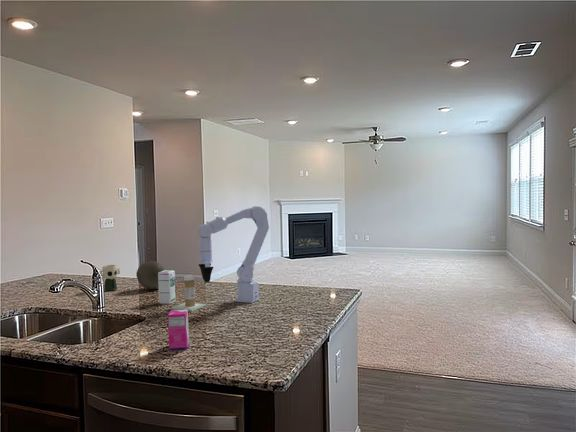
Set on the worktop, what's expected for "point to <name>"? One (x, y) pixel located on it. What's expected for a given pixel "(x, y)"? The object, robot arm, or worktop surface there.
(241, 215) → the robot arm
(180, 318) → the supplement box
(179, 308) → the green white square tile
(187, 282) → the sprinkles bottle
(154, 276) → the cantaloupe
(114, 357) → the worktop surface
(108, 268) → the character mug
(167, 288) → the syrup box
